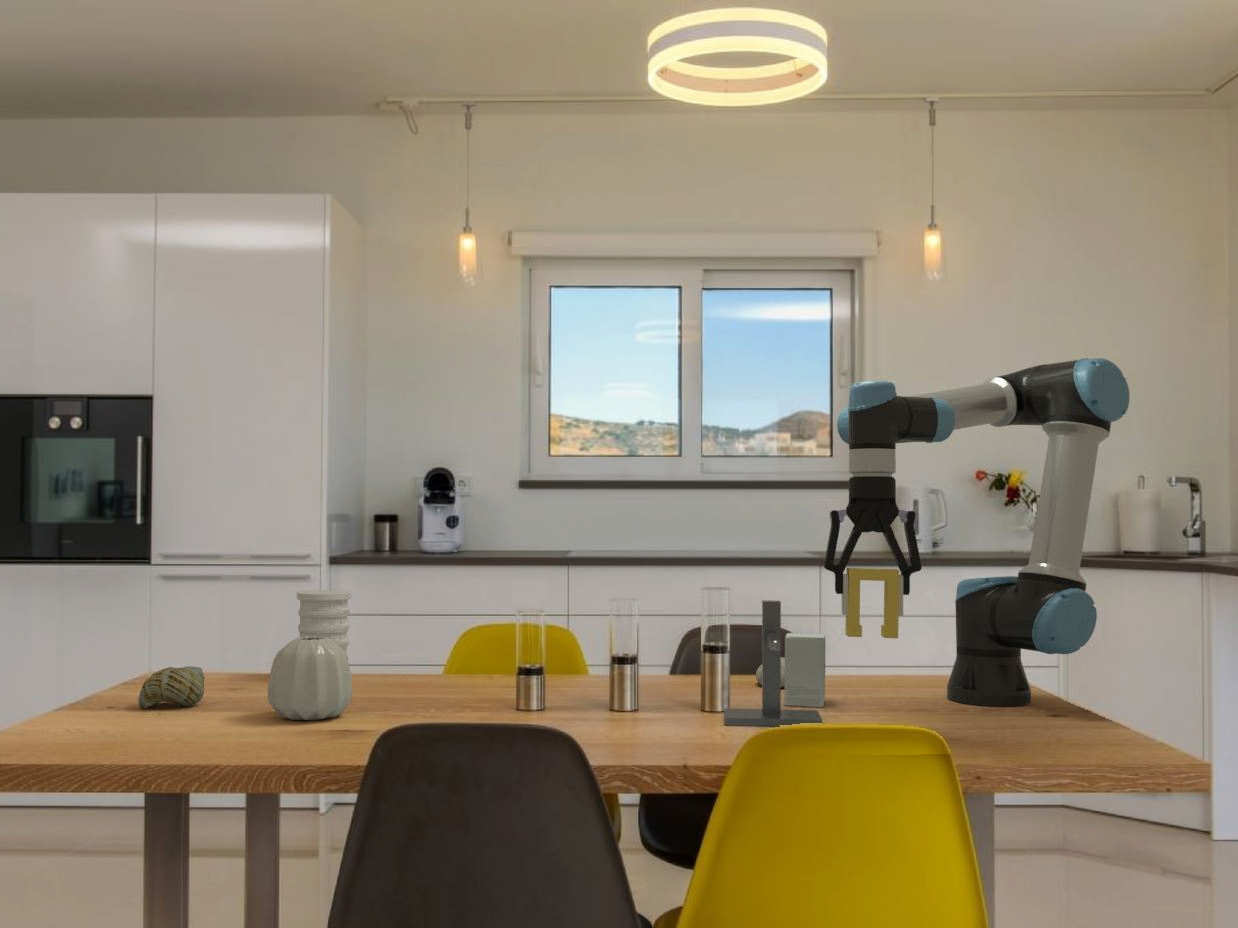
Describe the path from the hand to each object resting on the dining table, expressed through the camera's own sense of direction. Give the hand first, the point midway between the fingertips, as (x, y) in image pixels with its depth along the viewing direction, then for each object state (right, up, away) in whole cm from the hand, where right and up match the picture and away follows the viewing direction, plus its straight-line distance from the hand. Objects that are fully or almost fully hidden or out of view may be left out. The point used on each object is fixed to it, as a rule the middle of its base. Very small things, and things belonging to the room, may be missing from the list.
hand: (872, 614), depth 186 cm
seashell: (-121, -19, +17) cm, 123 cm away
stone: (-8, -21, +46) cm, 51 cm away
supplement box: (-7, -20, +24) cm, 32 cm away
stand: (-16, -19, +3) cm, 25 cm away
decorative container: (-102, -20, +48) cm, 115 cm away
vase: (-94, -19, +7) cm, 96 cm away
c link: (0, -4, 0) cm, 4 cm away
